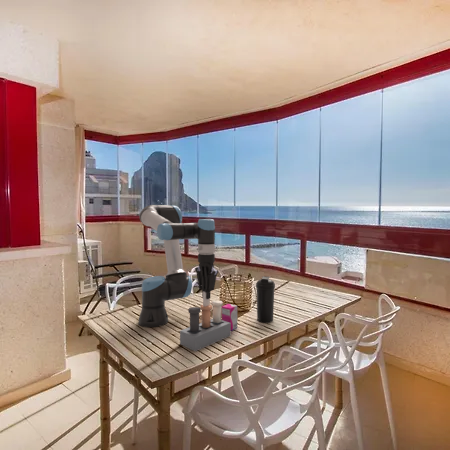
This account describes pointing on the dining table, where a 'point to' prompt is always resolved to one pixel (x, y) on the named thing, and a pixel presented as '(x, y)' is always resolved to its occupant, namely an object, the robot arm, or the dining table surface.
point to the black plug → (194, 318)
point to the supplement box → (230, 315)
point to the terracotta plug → (206, 316)
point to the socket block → (205, 335)
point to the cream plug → (217, 311)
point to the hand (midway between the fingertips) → (206, 305)
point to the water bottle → (265, 299)
